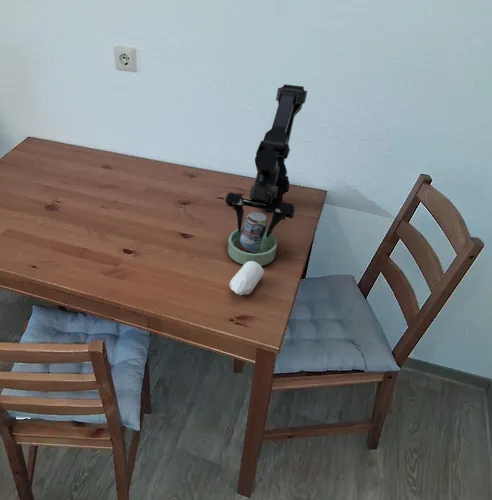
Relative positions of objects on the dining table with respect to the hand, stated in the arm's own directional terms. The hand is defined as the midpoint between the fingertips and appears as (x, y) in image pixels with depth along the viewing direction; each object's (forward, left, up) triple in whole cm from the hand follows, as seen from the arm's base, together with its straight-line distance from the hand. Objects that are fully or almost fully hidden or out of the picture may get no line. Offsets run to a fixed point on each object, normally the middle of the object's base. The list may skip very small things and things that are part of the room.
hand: (252, 234), depth 150 cm
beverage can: (-1, -2, -7) cm, 7 cm away
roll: (+9, +12, -8) cm, 17 cm away
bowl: (-1, -1, -7) cm, 8 cm away
